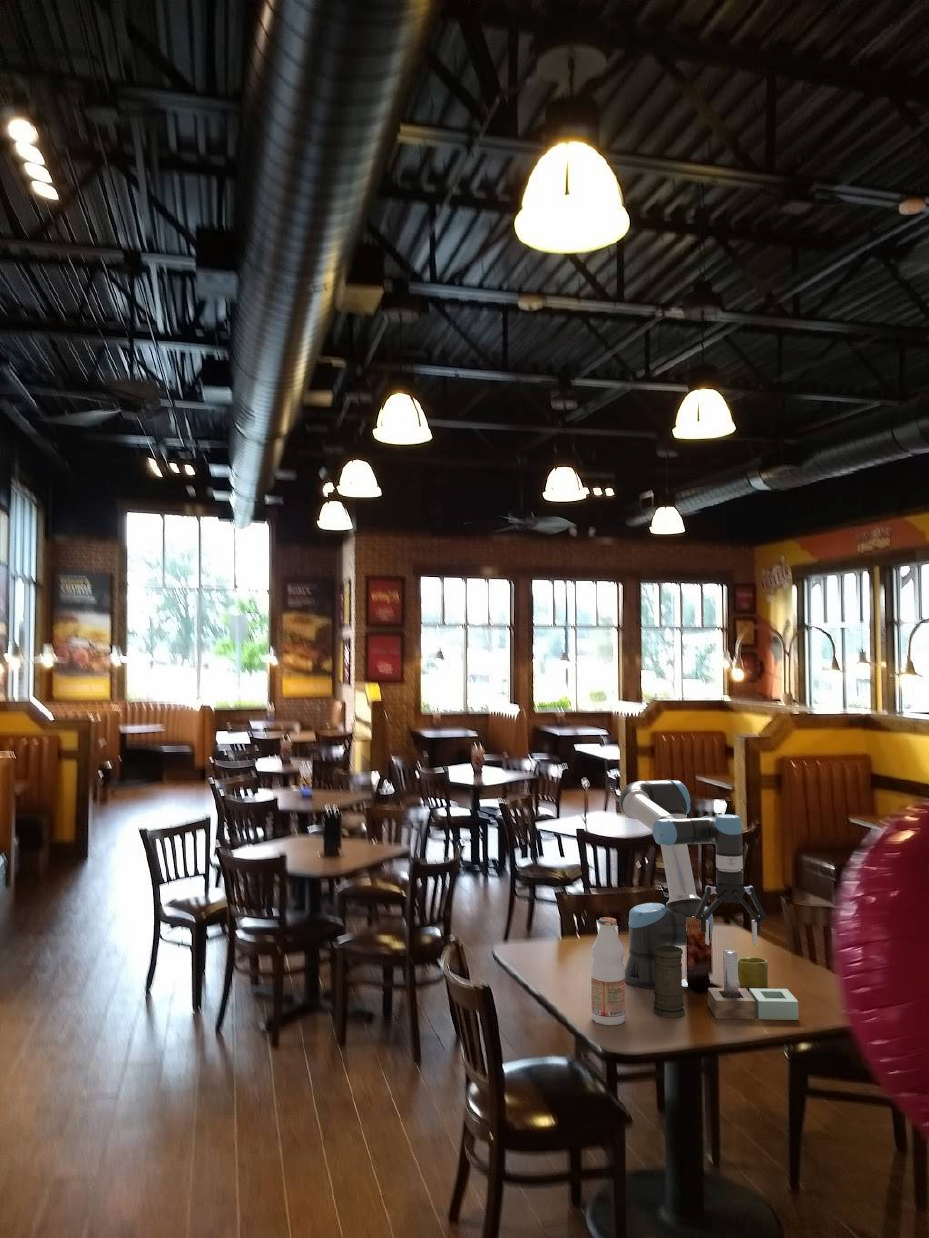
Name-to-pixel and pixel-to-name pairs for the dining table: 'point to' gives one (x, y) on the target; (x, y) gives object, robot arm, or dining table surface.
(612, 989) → the fruit juice
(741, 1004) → the block
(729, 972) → the pin
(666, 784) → the robot arm
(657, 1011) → the container
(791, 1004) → the dock block
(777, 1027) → the dining table surface
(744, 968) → the mug
